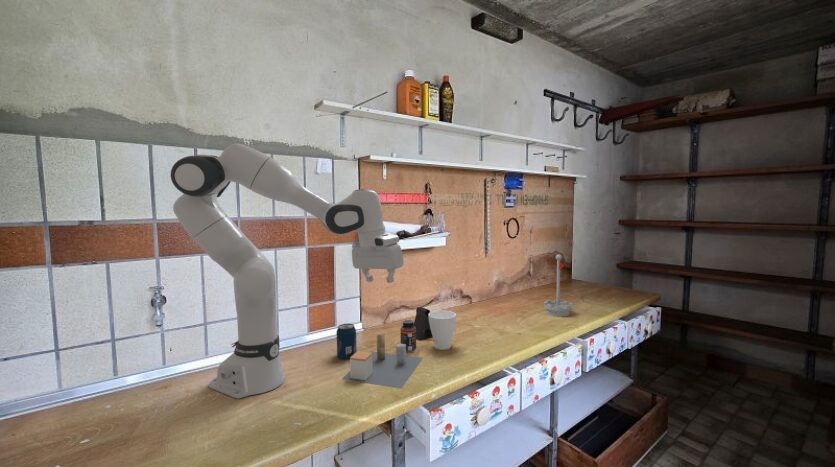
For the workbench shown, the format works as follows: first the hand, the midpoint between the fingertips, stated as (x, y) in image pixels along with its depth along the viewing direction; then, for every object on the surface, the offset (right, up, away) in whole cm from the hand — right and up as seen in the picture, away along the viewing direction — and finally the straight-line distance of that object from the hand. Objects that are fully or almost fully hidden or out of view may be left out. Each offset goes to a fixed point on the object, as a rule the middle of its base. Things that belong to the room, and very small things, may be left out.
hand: (380, 281), depth 114 cm
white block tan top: (-6, -30, -1) cm, 30 cm away
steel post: (+7, -29, +8) cm, 31 cm away
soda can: (-13, -30, +14) cm, 36 cm away
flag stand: (+83, -25, +65) cm, 108 cm away
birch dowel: (-1, -29, +11) cm, 31 cm away
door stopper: (+15, -28, +35) cm, 47 cm away
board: (+1, -30, +4) cm, 31 cm away
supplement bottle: (+9, -29, +21) cm, 37 cm away
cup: (+22, -29, +22) cm, 42 cm away
